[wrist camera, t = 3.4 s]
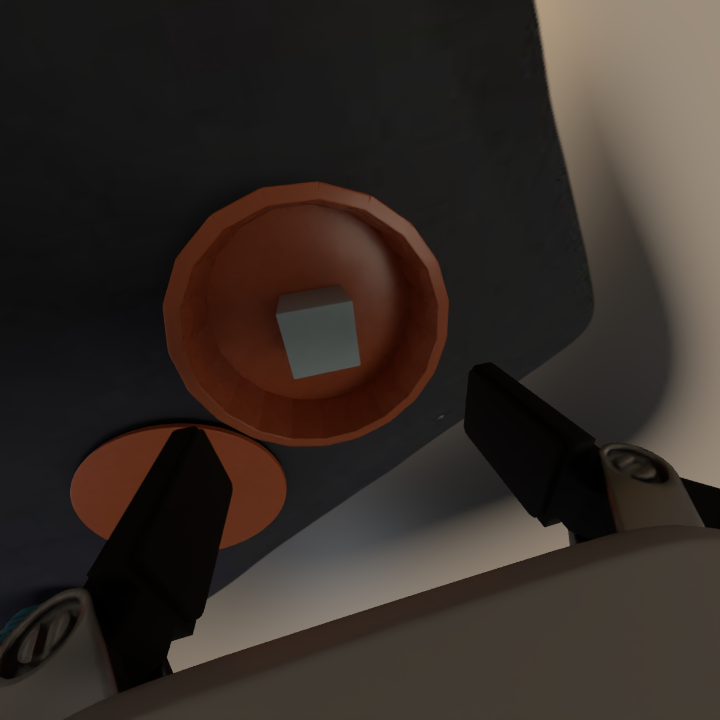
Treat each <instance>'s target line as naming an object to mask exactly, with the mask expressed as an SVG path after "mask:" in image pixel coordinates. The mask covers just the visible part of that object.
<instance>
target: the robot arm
mask: <svg viewBox="0 0 720 720" xmlns="http://www.w3.org/2000/svg"><path fill="white" fill-rule="evenodd" d="M464 429H465V432H466V434H467V435H468V437H469V438H470V439H471V441H472V442H473V443H474V444H475V446H476V447H477V448H478V449H479V451H480V452H481V453H482V455H483V456H484V457H485V458H486V460H487V461H488V462H489V463H490V465H491V466H492V467H493V469H494V470H495V471H496V472H497V474H498V475H499V476H500V478H501V479H502V480H503V481H504V483H505V484H506V485H507V487H508V488H509V489H510V490H511V492H512V493H513V494H514V495H515V497H516V498H517V499H518V501H519V502H520V503H521V504H522V506H523V507H524V508H525V509H526V511H527V512H528V513H529V514H530V515H531V516H532V517H534V518H535V517H537V519H538V520H539V521H540V522H541V524H542V525H543V526H544V527H547V526H551V525H554V524H557V523H560V522H562V523H563V524H564V525H565V526H566V528H567V529H568V532H569V543H570V546H569V547H566V548H562V549H558V550H555V551H552V552H548V553H546V554H542V555H539V556H536V557H532V558H530V559H526V560H523V561H520V562H516V563H513V564H510V565H507V566H504V567H501V568H497V569H494V570H491V571H488V572H484V573H481V574H478V575H475V576H472V577H469V578H465V579H462V580H459V581H456V582H453V583H450V584H447V585H443V586H440V587H437V588H434V589H431V590H428V591H424V592H421V593H418V594H415V595H412V596H408V597H405V598H403V599H399V600H396V601H393V602H390V603H387V604H383V605H380V606H377V607H374V608H371V609H368V610H365V611H362V612H358V613H356V614H352V615H349V616H346V617H343V618H340V619H337V620H333V621H330V622H327V623H324V624H321V625H318V626H315V627H312V628H309V629H306V630H302V631H299V632H296V633H293V634H290V635H287V636H284V637H281V638H278V639H275V640H272V641H269V642H265V643H262V644H259V645H256V646H253V647H250V648H247V649H244V650H241V651H238V652H235V653H232V654H228V655H225V656H222V657H219V658H217V659H214V660H211V661H208V662H205V663H202V664H199V665H196V666H193V667H191V668H188V669H185V670H182V671H179V672H176V673H173V671H172V669H171V666H170V664H169V662H168V659H167V654H168V651H169V648H170V644H171V641H174V640H177V639H180V638H184V637H187V636H190V635H193V631H194V627H195V623H196V620H197V619H198V618H200V617H201V616H202V614H203V612H204V609H205V605H206V601H207V597H208V592H209V588H210V584H211V580H212V576H213V572H214V568H215V563H216V559H217V555H218V551H219V547H220V543H221V539H222V535H223V530H224V526H225V522H226V518H227V514H228V510H229V506H230V501H231V497H232V493H233V485H232V482H231V480H230V478H229V476H228V474H227V472H226V470H225V469H224V467H223V465H222V463H221V461H220V459H219V457H218V455H217V453H216V452H215V450H214V448H213V446H212V444H211V442H210V440H209V438H208V437H207V435H206V433H205V431H204V430H203V429H198V428H197V427H196V426H190V427H186V428H181V429H177V430H174V431H173V432H172V433H171V435H170V437H169V438H168V440H167V442H166V443H165V445H164V447H163V448H162V450H161V452H160V453H159V455H158V457H157V458H156V460H155V462H154V463H153V465H152V467H151V468H150V470H149V472H148V473H147V475H146V477H145V478H144V480H143V482H142V483H141V485H140V487H139V489H138V490H137V492H136V494H135V495H134V497H133V499H132V500H131V502H130V504H129V505H128V507H127V509H126V510H125V512H124V514H123V515H122V517H121V519H120V520H119V522H118V524H117V525H116V527H115V529H114V530H113V532H112V534H111V535H110V537H109V539H108V540H107V542H106V544H105V546H104V547H103V549H102V551H101V552H100V554H99V556H98V557H97V559H96V561H95V562H94V564H93V566H92V567H91V569H90V571H89V572H88V574H87V576H88V577H89V578H88V580H87V582H86V583H85V585H84V587H83V588H79V587H78V588H73V589H68V590H66V591H63V592H61V593H59V594H57V595H55V596H53V597H51V598H50V599H48V600H47V601H45V602H44V603H42V604H41V605H39V606H38V607H37V608H36V609H35V610H33V611H32V612H31V613H30V614H29V615H27V616H26V617H25V618H24V619H23V620H22V621H21V622H20V623H19V624H18V625H17V626H16V627H15V628H14V629H13V630H12V631H11V632H10V633H9V635H8V636H7V637H6V639H5V640H4V641H3V643H2V644H1V645H0V720H720V489H719V488H716V487H712V486H709V485H705V484H702V483H698V482H695V481H691V480H688V479H684V478H681V477H679V475H678V474H677V473H676V471H675V470H674V469H673V467H672V466H671V465H670V464H669V463H667V462H666V461H665V460H664V459H663V458H661V457H659V456H658V455H656V454H654V453H653V452H651V451H648V450H646V449H644V448H642V447H638V446H635V445H632V444H627V443H620V442H615V443H614V442H613V443H607V444H605V445H603V446H602V447H601V448H599V447H597V446H596V445H594V442H595V440H596V439H595V438H594V437H592V436H591V435H590V434H588V433H587V432H585V431H584V430H583V429H581V428H580V427H579V426H577V425H576V424H574V423H573V422H572V421H570V420H569V419H568V418H566V417H565V416H564V415H562V414H561V413H560V412H558V411H557V410H556V409H554V408H553V407H551V406H550V405H549V404H547V403H546V402H545V401H543V400H542V399H540V398H539V397H538V396H537V395H535V394H534V393H532V392H531V391H530V390H528V389H527V388H526V387H524V386H523V385H522V384H520V383H519V382H518V381H516V380H515V379H513V378H512V377H511V376H509V375H508V374H507V373H505V372H504V371H503V370H501V369H500V368H499V367H497V366H496V365H494V364H493V363H491V362H488V363H483V364H479V365H475V366H474V367H473V369H472V370H471V371H470V372H469V376H468V387H467V397H466V408H465V418H464Z"/></svg>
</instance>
